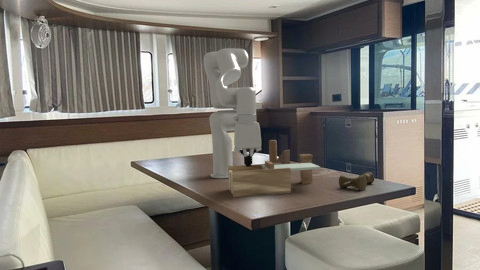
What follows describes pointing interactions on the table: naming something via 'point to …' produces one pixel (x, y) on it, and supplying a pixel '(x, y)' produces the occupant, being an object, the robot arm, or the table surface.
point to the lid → (291, 166)
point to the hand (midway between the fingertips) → (248, 166)
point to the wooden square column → (306, 174)
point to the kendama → (356, 181)
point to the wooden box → (258, 180)
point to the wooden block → (283, 157)
